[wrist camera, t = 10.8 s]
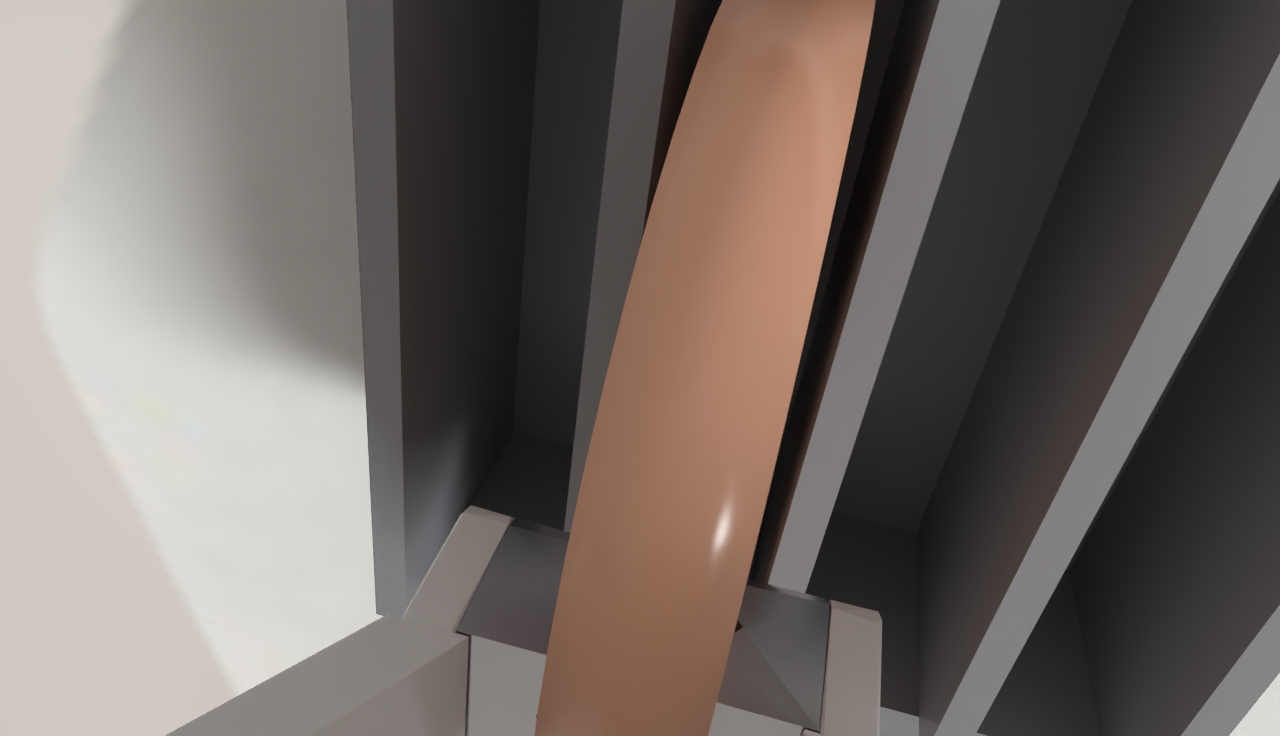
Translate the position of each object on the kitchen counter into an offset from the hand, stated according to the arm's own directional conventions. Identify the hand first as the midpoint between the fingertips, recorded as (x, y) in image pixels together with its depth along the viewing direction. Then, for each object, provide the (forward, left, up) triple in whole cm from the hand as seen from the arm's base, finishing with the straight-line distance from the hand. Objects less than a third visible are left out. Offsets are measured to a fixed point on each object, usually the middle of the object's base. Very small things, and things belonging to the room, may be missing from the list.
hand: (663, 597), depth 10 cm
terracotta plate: (0, 0, -3) cm, 3 cm away
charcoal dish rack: (0, -2, -11) cm, 11 cm away
